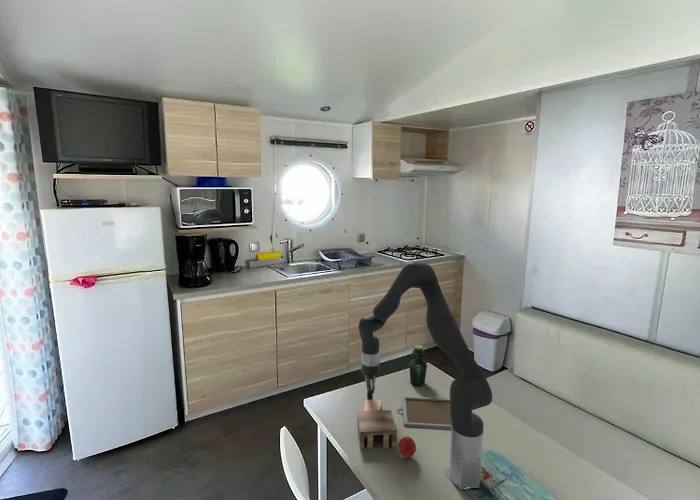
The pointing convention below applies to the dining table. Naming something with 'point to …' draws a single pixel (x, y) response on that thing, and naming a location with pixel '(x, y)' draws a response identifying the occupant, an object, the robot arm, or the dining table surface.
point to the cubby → (376, 427)
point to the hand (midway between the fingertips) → (369, 399)
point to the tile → (372, 405)
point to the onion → (407, 447)
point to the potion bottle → (418, 367)
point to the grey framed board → (426, 412)
